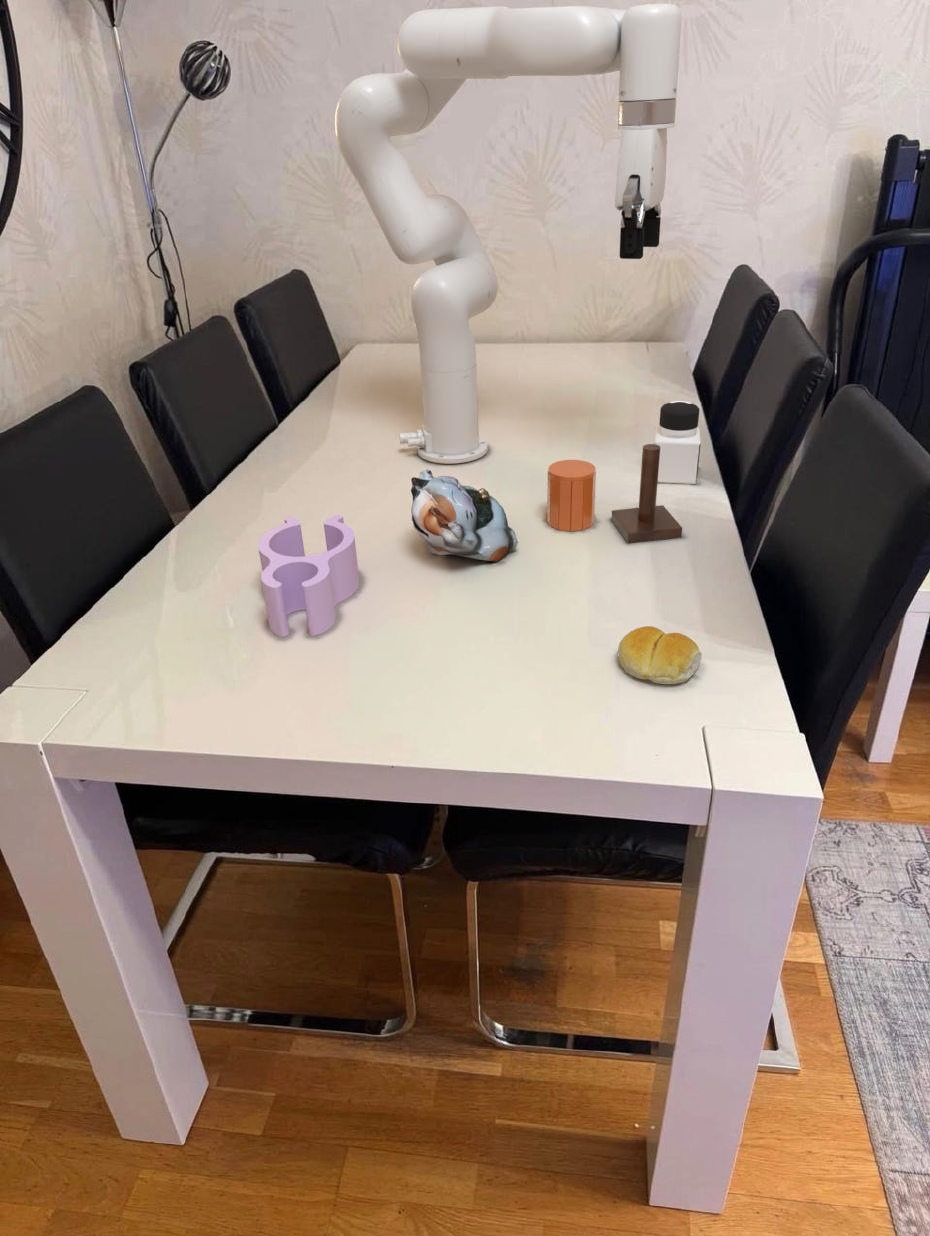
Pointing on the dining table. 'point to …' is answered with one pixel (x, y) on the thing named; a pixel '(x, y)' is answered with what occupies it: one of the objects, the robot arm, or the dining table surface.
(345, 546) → the clip
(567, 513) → the cup
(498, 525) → the lucky cat figurine
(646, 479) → the stand
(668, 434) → the medicine bottle
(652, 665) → the bread roll
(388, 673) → the dining table surface
